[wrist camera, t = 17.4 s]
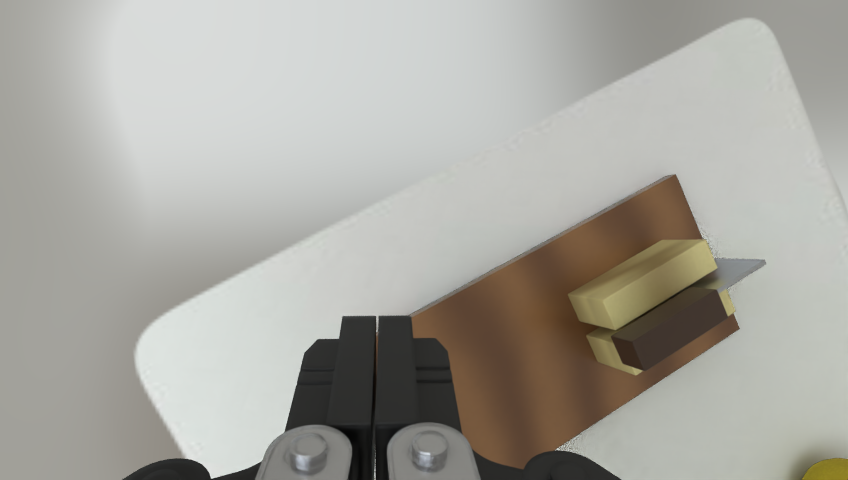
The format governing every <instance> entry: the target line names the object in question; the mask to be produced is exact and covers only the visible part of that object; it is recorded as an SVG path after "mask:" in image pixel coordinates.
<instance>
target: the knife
mask: <svg viewBox="0 0 848 480" xmlns="http://www.w3.org/2000/svg"><path fill="white" fill-rule="evenodd" d="M714 260H715V263H716V265H717V269H715V270H714V271H712V272H710V273H709V274H707V275H706V276H704V277H702V278H701V279H699V280H697V281H696V282H694V283H692V284H691V285H689V286H688V287H686V288H684V289H683V290H681V291H679V292H678V293H676V294H674V295H673V296H671V297H670V298H671V299H670V300H669V301H667V302H665V303H664V304H662V305H661V306H659V307H657V308H656V309H654V310H652V311H651V312H649V313H648V314H646V315H644V316H643V317H641V318H639V319H638V320H636V321H634V322H633V323H631V324H630V325H628V326H626V327H625V328H623V329H621V330H620V331H618V332H616V333H615V334H613V335H612V336H611V339H612V341H613V343H614V346H615V348H616V350H617V352H618V355H619V357H620V359H621V361H622V363H623V364H624V365H627V366H630V367H633V368H636V369H639V370H642V371H647V370H648V369H650V368H652V367H653V366H655V365H656V364H658V363H659V362H661V361H662V360H664V359H666V358H667V357H669V356H670V355H672V354H673V353H675V352H676V351H678V350H680V349H681V348H683V347H684V346H686V345H687V344H689V343H690V342H692V341H694V340H695V339H697V338H698V337H700V336H701V335H703V334H704V333H706V332H707V331H709V330H711V329H712V328H714V327H715V326H717V325H718V324H720V323H721V322H723V321H725V320H726V319H728V315H727V312H726V310H725V308H724V305H723V303H722V300H721V298H720V296H719V293H721V292H722V291H724V290H725V289H727V288H729V287H730V286H732V285H733V284H735V283H737V282H738V281H740V280H741V279H743V278H745V277H746V276H748V275H749V274H751V273H753V272H754V271H756V270H757V269H759V268H761V267H762V266H764V265H765V264H766V262H765V260H759V259H727V258H714Z"/></svg>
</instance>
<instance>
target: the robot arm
mask: <svg viewBox="0 0 848 480" xmlns="http://www.w3.org/2000/svg"><path fill="white" fill-rule="evenodd" d="M375 458H376V480H621V479H620V478H618V477H617V476H615V475H613V474H612V473H610V472H609V471H607V470H606V469H604V468H603V467H601V466H600V465H598V464H597V463H595V462H593V461H592V460H590V459H588V458H586V457H584V456H581V455H579V454H576V453H572V452H567V451H548V452H543V453H541V454H538V455H536V456H534V457H533V458H531V459H530V460H529V461H528V462H527V464H526V465H525V467H524V469H520V468H515V467H511V466H507V465H502V464H499V463H495V462H493V461H490V460H488V459H486V458H484V457H483V456H481V455H479V454H478V453H477V452H475V451H474V450H473V449H472V448H471V446H470V443H469V442H468V440H467V439H466V437H465V436H464V435H463V433H462V429H461V424H460V418H459V412H458V407H457V401H456V395H455V390H454V384H453V378H452V373H451V370H450V361H449V356H448V351H447V350H446V349H445V348H444V346H443V345H442V344H441V343H440V342H439V341H438V340H437V339H436V338H413V328H412V316H379V323H378V353H377V352H376V316H343V318H342V324H341V330H340V337H339V339H318V340H317V341H316V342H315V343H314V344H313V345H312V346H311V347H310V348H309V349H308V350H307V351H306V352H305V353H304V357H303V361H302V365H301V371H300V373H299V377H298V381H297V385H296V389H295V393H294V397H293V401H292V405H291V409H290V413H289V417H288V421H287V425H286V429H285V432H284V433H283V434H282V435H280V436H279V437H277V438H276V439H275V440H274V441H273V442H272V443H271V444H270V446H269V447H268V449H267V451H266V453H265V455H264V458H263V460H262V462H260V463H258V464H256V465H254V466H252V467H250V468H248V469H245V470H242V471H239V472H235V473H232V474H228V475H224V476H221V477H217V478H213V479H211V478H210V474H209V472H208V471H207V469H206V468H205V467H204V466H203V465H202V464H200V463H198V462H196V461H193V460H189V459H167V460H163V461H158V462H155V463H152V464H150V465H147V466H145V467H143V468H141V469H139V470H137V471H136V472H134V473H132V474H131V475H129V476H127V477H126V478H124V479H123V480H374V469H375Z"/></svg>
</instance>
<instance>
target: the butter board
mask: <svg viewBox="0 0 848 480" xmlns="http://www.w3.org/2000/svg"><path fill="white" fill-rule="evenodd" d="M715 269H717V265H716V263H715V260H714V258H713V255H712V253H711V250H710V248H709V246H708V243H707V241H706V240H705V239H702V236H701V234H700V232H699V229H698V227H697V224H696V222H695V219H694V217H693V215H692V212H691V210H690V207H689V205H688V203H687V200H686V198H685V195H684V193H683V190H682V188H681V186H680V183H679V181H678V178H677V176H676V174H675V175H669V176H665V177H663V178H661V179H660V180H658V181H656V182H654V183H652V184H650V185H649V186H647V187H645V188H643V189H641V190H639V191H637V192H636V193H634V194H632V195H630V196H628V197H626V198H624V199H623V200H621V201H619V202H617V203H615V204H613V205H612V206H610V207H608V208H606V209H604V210H602V211H600V212H599V213H597V214H595V215H593V216H591V217H589V218H588V219H586V220H584V221H582V222H580V223H578V224H576V225H575V226H573V227H571V228H569V229H567V230H565V231H564V232H562V233H560V234H558V235H556V236H554V237H552V238H551V239H549V240H547V241H545V242H543V243H541V244H539V245H538V246H536V247H534V248H532V249H530V250H528V251H527V252H525V253H523V254H521V255H519V256H517V257H515V258H514V259H512V260H510V261H508V262H506V263H504V264H503V265H501V266H499V267H497V268H495V269H493V270H491V271H490V272H488V273H486V274H484V275H482V276H480V277H479V278H477V279H475V280H473V281H471V282H469V283H467V284H466V285H464V286H462V287H460V288H458V289H456V290H454V291H453V292H451V293H449V294H447V295H445V296H443V297H442V298H440V299H438V300H436V301H434V302H432V303H430V304H429V305H427V306H425V307H423V308H421V309H419V310H418V311H416V312H414V313H412V314H410V315H408V316H412V328H413V338H436V339H437V340H438V341H439V342H440V343H441V344H442V345H443V346H444V348H445V349H446V350H447V351H448V356H449V361H450V370H451V373H452V378H453V384H454V390H455V395H456V401H457V407H458V412H459V418H460V424H461V429H462V433H463V435H464V436H465V437H466V439H467V440H468V442H469V443H470V446H471V448H472V449H473V450H474V451H475V452H477V453H478V454H479V455H481V456H483V457H484V458H486V459H488V460H490V461H493V462H495V463H499V464H502V465H507V466H511V467H515V468H520V469H524V467H525V465H526V464H527V462H528V461H529V460H530V459H531V458H533V457H534V456H536V455H538V454H541V453H543V452H548V451H554V450H555V449H557V448H558V447H560V446H561V445H563V444H564V443H566V442H567V441H569V440H570V439H572V438H574V437H575V436H577V435H578V434H580V433H581V432H583V431H584V430H586V429H587V428H589V427H590V426H592V425H593V424H595V423H596V422H598V421H600V420H601V419H603V418H604V417H606V416H607V415H609V414H610V413H612V412H613V411H615V410H616V409H618V408H619V407H621V406H622V405H624V404H626V403H627V402H629V401H630V400H632V399H633V398H635V397H636V396H638V395H639V394H641V393H642V392H644V391H645V390H647V389H648V388H650V387H652V386H653V385H655V384H656V383H658V382H659V381H661V380H662V379H664V378H665V377H667V376H668V375H670V374H671V373H673V372H674V371H676V370H677V369H679V368H681V367H682V366H684V365H685V364H687V363H688V362H690V361H691V360H693V359H694V358H696V357H697V356H699V355H700V354H702V353H703V352H705V351H707V350H708V349H710V348H711V347H713V346H714V345H716V344H717V343H719V342H720V341H722V340H723V339H725V338H726V337H728V336H729V335H731V334H733V333H734V332H736V331H737V330H739V329H740V328H739V326H738V323H737V321H736V319H735V316H734V314H733V313H734V312H735V308H734V306H733V304H732V301H731V299H730V296H729V294H728V291H727V289H725V290H724V291H722V292H721V293H719V296H720V298H721V300H722V303H723V305H724V308H725V310H726V312H727V315H728V319H726V320H725V321H723V322H721V323H720V324H718V325H717V326H715V327H714V328H712V329H711V330H709V331H707V332H706V333H704V334H703V335H701V336H700V337H698V338H697V339H695V340H694V341H692V342H690V343H689V344H687V345H686V346H684V347H683V348H681V349H680V350H678V351H676V352H675V353H673V354H672V355H670V356H669V357H667V358H666V359H664V360H662V361H661V362H659V363H658V364H656V365H655V366H653V367H652V368H650V369H648V370H647V371H642V370H639V369H636V368H633V367H630V366H627V365H624V364H623V363H622V361H621V359H620V357H619V355H618V352H617V350H616V348H615V346H614V343H613V341H612V339H611V336H612V335H613V334H615V333H616V332H618V331H620V330H621V329H623V328H625V327H626V326H628V325H630V324H631V323H633V322H634V321H636V320H638V319H639V318H641V317H643V316H644V315H646V314H648V313H649V312H651V311H652V310H654V309H656V308H657V307H659V306H661V305H662V304H664V303H665V302H667V301H669V300H670V299H671V298H670V297H671V296H673V295H674V294H676V293H678V292H679V291H681V290H683V289H684V288H686V287H688V286H689V285H691V284H692V283H694V282H696V281H697V280H699V279H701V278H702V277H704V276H706V275H707V274H709V273H710V272H712V271H714V270H715ZM376 352H377V353H378V332H377V333H376Z"/></svg>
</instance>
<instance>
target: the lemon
mask: <svg viewBox="0 0 848 480" xmlns="http://www.w3.org/2000/svg"><path fill="white" fill-rule="evenodd" d="M802 480H848V459H843V458H833V459H826V460H822V461H820V462H818V463H816V464H814V465H813V466H812V467H810V468H809V469H808V470H807V472H806V473H805V475H804V477H803V478H802Z"/></svg>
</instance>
